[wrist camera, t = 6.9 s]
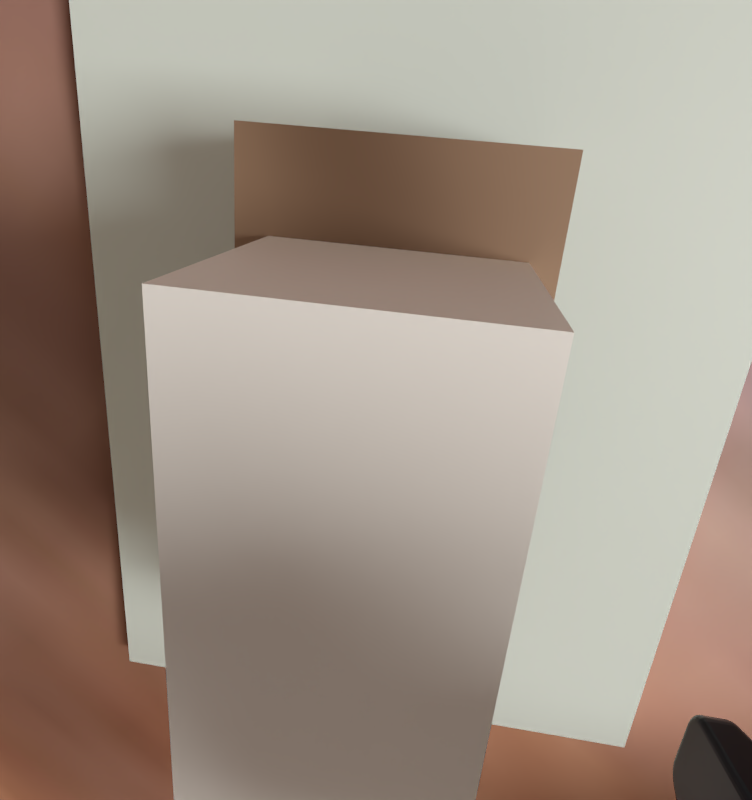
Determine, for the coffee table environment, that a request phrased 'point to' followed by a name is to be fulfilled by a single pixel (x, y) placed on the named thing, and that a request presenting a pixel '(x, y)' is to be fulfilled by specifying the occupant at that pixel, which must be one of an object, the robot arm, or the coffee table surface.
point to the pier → (405, 193)
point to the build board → (576, 289)
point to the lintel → (344, 511)
